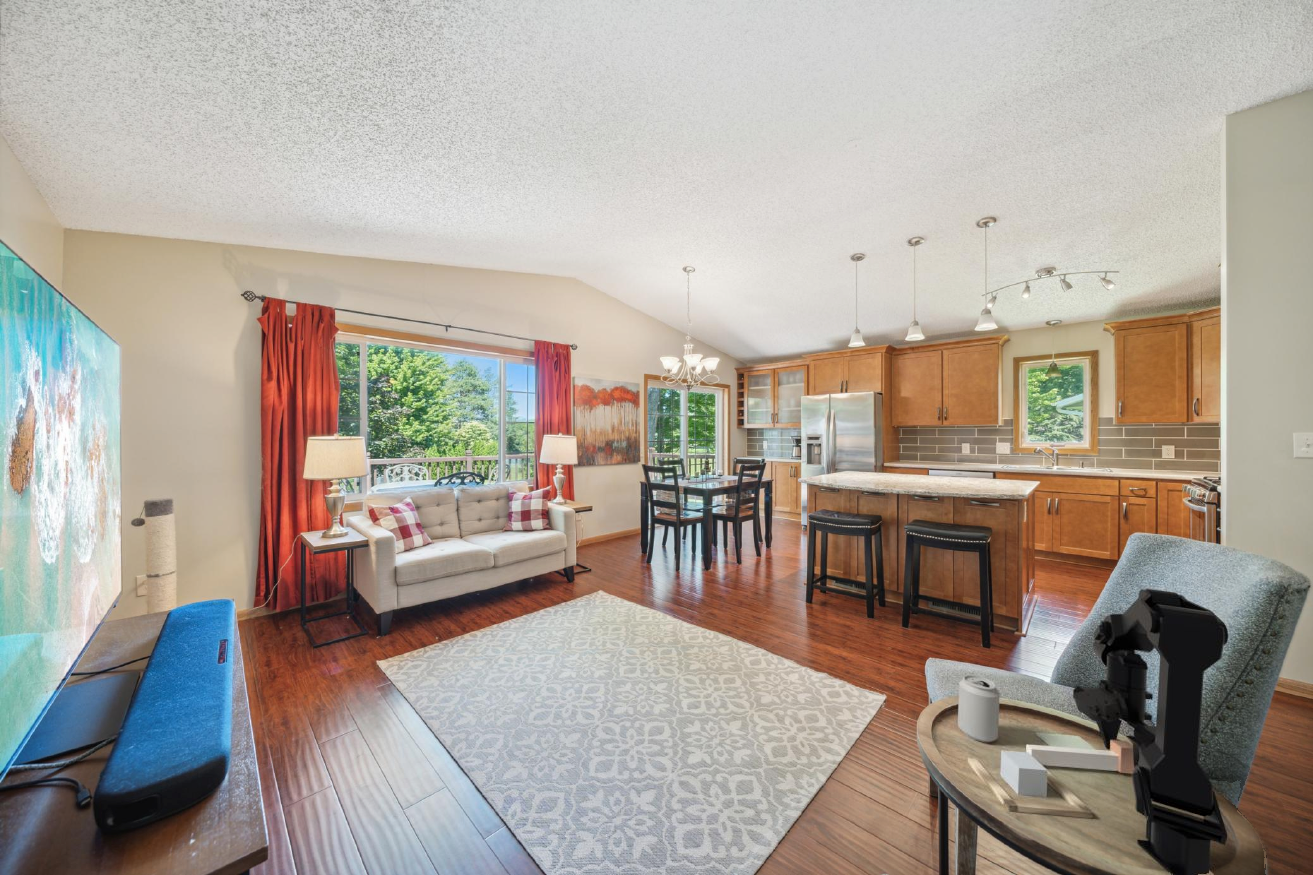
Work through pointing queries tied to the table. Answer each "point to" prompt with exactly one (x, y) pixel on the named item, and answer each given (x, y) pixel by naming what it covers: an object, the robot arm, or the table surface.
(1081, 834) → the table surface
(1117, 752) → the bar
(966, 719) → the can
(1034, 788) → the block
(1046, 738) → the mat
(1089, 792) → the table surface
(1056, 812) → the wooden u frame
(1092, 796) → the table surface
